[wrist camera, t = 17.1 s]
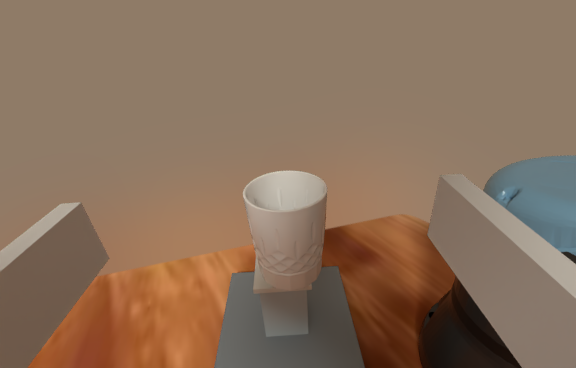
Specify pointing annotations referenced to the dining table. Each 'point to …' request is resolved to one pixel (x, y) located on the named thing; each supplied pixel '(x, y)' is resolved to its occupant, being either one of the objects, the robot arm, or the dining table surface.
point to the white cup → (287, 226)
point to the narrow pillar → (288, 325)
